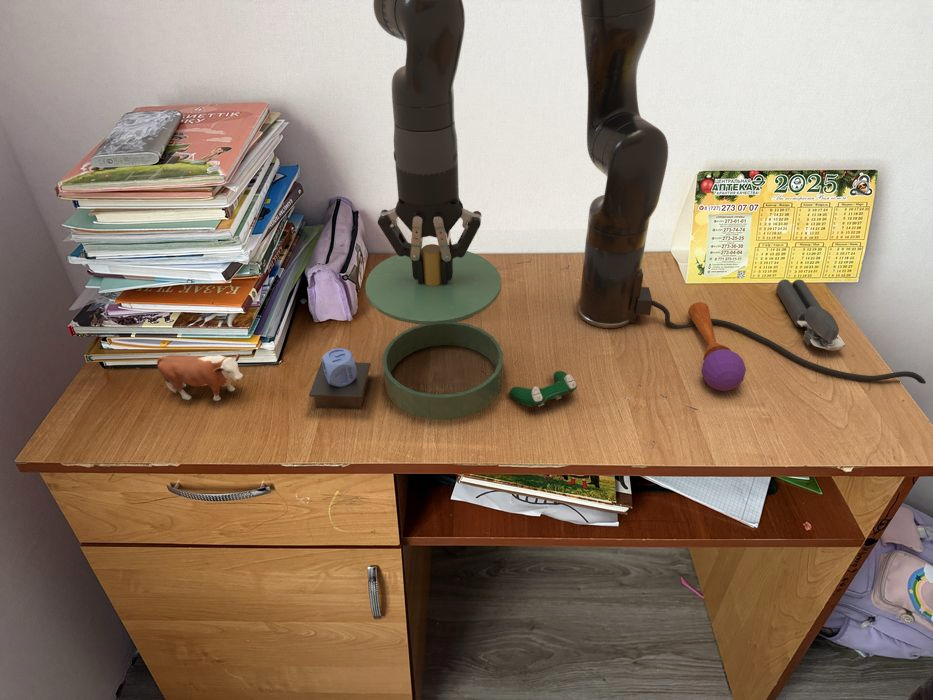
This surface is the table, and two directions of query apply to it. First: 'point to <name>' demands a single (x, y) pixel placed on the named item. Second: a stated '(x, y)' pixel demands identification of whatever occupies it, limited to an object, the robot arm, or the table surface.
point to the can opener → (809, 315)
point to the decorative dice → (339, 367)
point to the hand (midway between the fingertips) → (433, 280)
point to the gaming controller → (544, 390)
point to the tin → (450, 403)
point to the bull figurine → (199, 372)
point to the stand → (341, 390)
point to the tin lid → (433, 288)
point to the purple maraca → (716, 354)
